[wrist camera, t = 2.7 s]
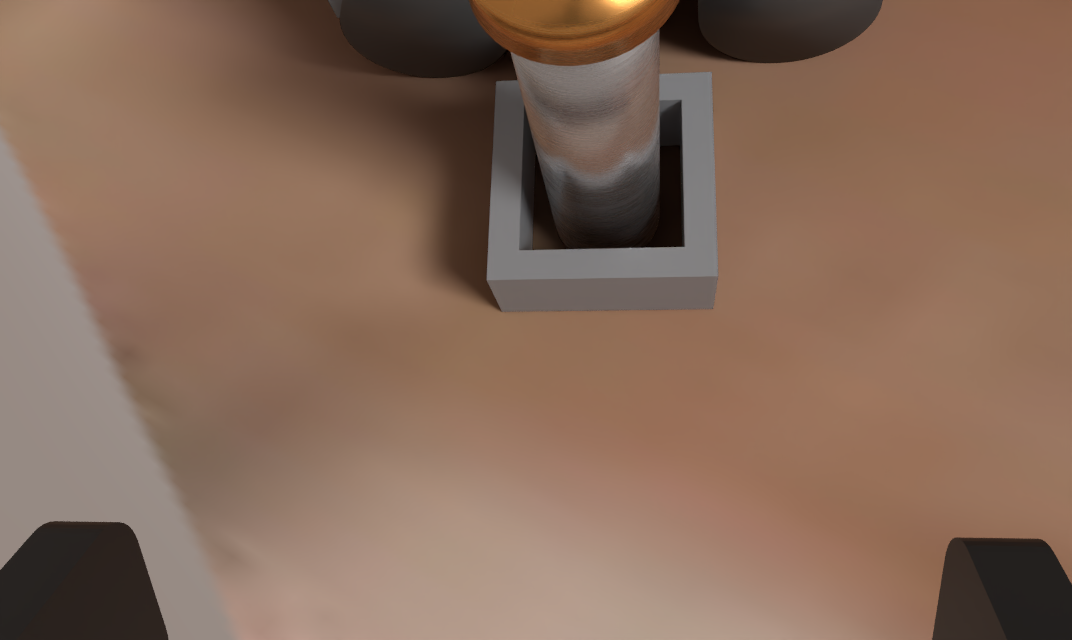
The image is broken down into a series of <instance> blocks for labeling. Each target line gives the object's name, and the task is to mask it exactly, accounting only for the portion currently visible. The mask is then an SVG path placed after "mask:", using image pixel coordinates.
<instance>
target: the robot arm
mask: <svg viewBox="0 0 1072 640" xmlns="http://www.w3.org/2000/svg"><path fill="white" fill-rule="evenodd" d="M0 640H168V634H167V630H166V627H165V624H164V621H163V618H162V615H161V612H160V608H159V605H158V602H157V599H156V596H155V593H154V590H153V587H152V584H151V581H150V577H149V575H148V571H147V568H146V565H145V562H144V559H143V556H142V553H141V549H140V546H139V543H138V540H137V538H136V536H135V534H134V532H133V530H132V529H131V528H130V527H129V526H128V525H126V524H124V523H120V522H63V521H60V522H58V521H54V522H49V523H46V524H43V525H42V526H40V527H39V528H38V529H37V530H36V531H35V532H34V533H33V534H32V535H31V536H30V537H29V538H28V539H27V541H26V542H25V543H24V544H23V545H22V546H21V547H20V548H19V550H18V551H17V552H16V553H15V554H14V555H13V556H12V558H11V559H10V560H9V561H8V562H7V563H6V564H5V565H4V567H3V568H2V569H1V570H0ZM932 640H1072V584H1071V582H1070V581H1069V579H1068V577H1067V575H1066V574H1065V572H1064V570H1063V568H1062V566H1061V565H1060V563H1059V561H1058V559H1057V557H1056V556H1055V554H1054V552H1053V551H1052V549H1051V548H1050V546H1049V545H1048V544H1047V543H1046V542H1045V541H1043V540H1041V539H1015V538H953V539H952V540H951V541H950V543H949V545H948V548H947V551H946V556H945V561H944V568H943V574H942V580H941V587H940V593H939V600H938V606H937V612H936V619H935V625H934V631H933V638H932Z"/></svg>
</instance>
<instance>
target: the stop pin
mask: <svg viewBox="0 0 1072 640" xmlns="http://www.w3.org/2000/svg"><path fill="white" fill-rule="evenodd" d="M469 2H470V5H471V8H472V11H473V13H474V15H475V17H476V19H477V21H478V22H479V24H480V25H481V26H482V28H483V29H484V30H485V32H486V33H487V34H488V35H489V36H490V37H491V38H492V39H493V40H494V41H495V42H497V43H498V44H499V45H501V46H502V47H503V48H505V49H507V50H508V51H510V52H511V56H512V60H513V63H514V67H515V71H516V75H517V79H518V83H519V87H520V91H521V95H522V98H523V102H524V106H525V110H526V114H527V118H528V122H529V126H530V129H531V133H532V137H533V141H534V145H535V149H536V153H537V157H538V161H539V164H540V168H541V172H542V176H543V180H544V184H545V188H546V192H547V196H548V199H549V203H550V207H551V211H552V215H553V219H554V223H555V227H556V230H557V233H558V235H559V237H560V239H561V240H562V242H563V243H564V245H565V246H566V247H567V248H568V249H608V248H645V247H646V246H647V244H648V243H649V242H650V241H651V239H652V238H653V236H654V234H655V232H656V230H657V227H658V224H659V218H660V101H659V29H660V28H661V27H662V26H663V24H664V23H665V22H666V21H667V20H668V18H669V17H670V16H671V14H672V13H673V11H674V9H675V8H676V6H677V4H678V2H679V0H469Z"/></svg>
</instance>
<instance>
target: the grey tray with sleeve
mask: <svg viewBox="0 0 1072 640" xmlns="http://www.w3.org/2000/svg"><path fill="white" fill-rule="evenodd" d="M328 1H329V3H330V5H331V7H332V9H333V11H334V13H335V14H336V16H337V18H340V25H341V29H342V31H343V34H344V36H345V37H346V39H347V40H348V42H349V43H350V44H351V45H352V46H353V48H355V49H356V50H357V51H358V52H359V53H360V54H362V55H363V56H365V57H366V58H367V59H369V60H371V61H373V62H374V63H376V64H378V65H381V66H383V67H385V68H388V69H391V70H393V71H397V72H400V73H404V74H409V75H413V76H421V77H433V78H444V77H455V76H461V75H466V74H470V73H474V72H476V71H479V70H482V69H484V68H486V67H488V66H490V65H491V64H493V63H494V62H496V61H497V60H498V59H499V58H500V57H501V56H502V55H503V54H504V53H505V51H506V49H505V48H503V47H502V46H501V45H499V44H498V43H497V42H495V41H494V40H493V39H492V38H491V37H490V36H489V35H488V34H487V33H486V32H485V30H484V29H483V28H482V26H481V25H480V24H479V22H478V21H477V19H476V17H475V15H474V13H473V11H472V8H471V5H470V2H469V0H328ZM882 1H883V0H698V20H699V27H700V30H701V32H702V34H703V36H704V38H705V39H706V40H707V41H708V42H709V43H710V44H711V45H712V46H713V47H714V48H716V49H718V50H719V51H721V52H723V53H725V54H727V55H729V56H732V57H735V58H738V59H742V60H746V61H753V62H763V63H781V62H792V61H798V60H804V59H808V58H812V57H816V56H819V55H822V54H825V53H828V52H830V51H833V50H835V49H837V48H839V47H841V46H843V45H845V44H847V43H848V42H850V41H852V40H853V39H855V38H856V37H858V36H859V35H860V34H861V33H863V32H864V31H865V30H866V29H867V28H868V27H869V26H870V25H871V24H872V22H873V21H874V20H875V18H876V17H877V15H878V13H879V11H880V9H881V5H882ZM659 101H660V146H675V145H680V173H681V222H682V247H656V248H608V249H559V250H532V247H533V216H534V185H535V154H536V149H535V145H534V141H533V137H532V133H531V129H530V126H529V122H528V118H527V114H526V110H525V106H524V102H523V98H522V95H521V91H520V87H519V83H518V80H513V81H496V94H495V114H494V135H493V156H492V177H491V198H490V219H489V240H488V261H487V282H488V284H489V286H490V288H491V290H492V292H493V294H494V296H495V298H496V300H497V302H498V304H499V306H500V309H501V311H502V312H510V311H589V310H669V309H713V306H714V300H715V293H716V287H717V281H718V255H717V224H716V193H715V163H714V132H713V101H712V72H697V73H674V74H659Z"/></svg>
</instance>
